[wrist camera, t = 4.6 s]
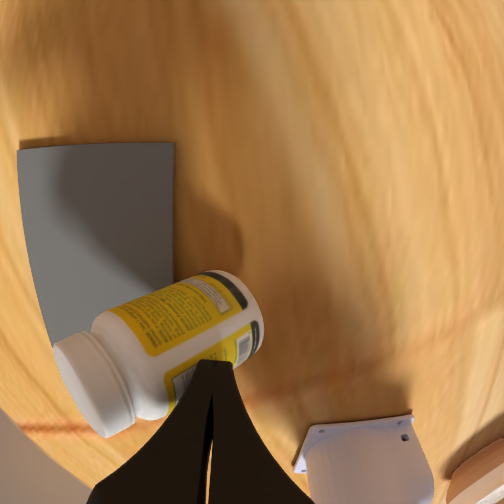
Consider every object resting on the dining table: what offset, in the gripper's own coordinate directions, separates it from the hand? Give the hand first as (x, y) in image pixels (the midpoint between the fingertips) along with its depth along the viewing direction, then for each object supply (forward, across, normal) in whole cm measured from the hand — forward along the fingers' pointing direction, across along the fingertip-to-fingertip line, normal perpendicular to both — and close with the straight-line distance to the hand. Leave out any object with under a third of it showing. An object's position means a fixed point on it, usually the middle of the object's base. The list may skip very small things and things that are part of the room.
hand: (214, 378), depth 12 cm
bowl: (+6, -39, +29) cm, 49 cm away
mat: (+6, +7, 0) cm, 9 cm away
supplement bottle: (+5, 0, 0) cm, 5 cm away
